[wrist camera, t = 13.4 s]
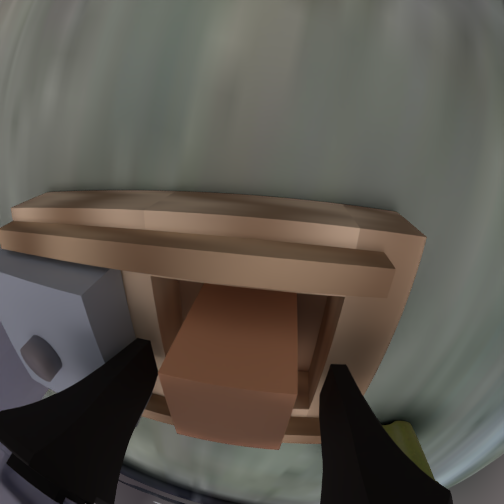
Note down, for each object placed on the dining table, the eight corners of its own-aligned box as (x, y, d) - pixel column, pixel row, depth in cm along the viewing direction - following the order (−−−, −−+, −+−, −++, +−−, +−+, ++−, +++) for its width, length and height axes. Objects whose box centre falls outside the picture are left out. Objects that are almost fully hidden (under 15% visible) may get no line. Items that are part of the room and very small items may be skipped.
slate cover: (51, 354, 14) (24, 388, 10) (10, 244, 10) (-34, 273, 7) (152, 392, 13) (129, 442, 10) (119, 261, 10) (62, 313, 6)
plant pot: (395, 395, 15) (416, 502, 7) (444, 419, 17) (464, 493, 9) (306, 445, 19) (302, 531, 11) (369, 461, 20) (373, 528, 13)
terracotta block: (210, 339, 14) (177, 433, 9) (208, 275, 13) (157, 372, 7) (285, 348, 14) (279, 449, 8) (296, 284, 12) (297, 394, 7)
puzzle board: (89, 350, 17) (62, 388, 13) (47, 192, 12) (-6, 215, 8) (338, 393, 15) (343, 448, 12) (396, 211, 10) (442, 251, 7)
